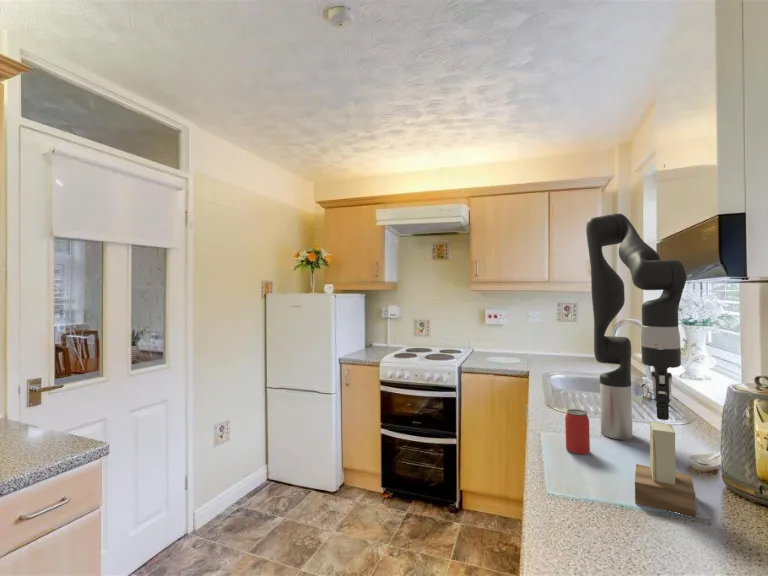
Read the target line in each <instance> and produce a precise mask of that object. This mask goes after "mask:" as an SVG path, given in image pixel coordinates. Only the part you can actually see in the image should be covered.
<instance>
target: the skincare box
mask: <svg viewBox="0 0 768 576" xmlns="http://www.w3.org/2000/svg"><path fill="white" fill-rule="evenodd" d="M649 432H650V433H649V442H650V444H649V445H650V446H649V449H650V450H649V451H650V452H649V453H650V454H649V456H650V457H649V458H650V459H649V463H650V464H649V467H650V471H651V475H652V479H653V481H656V482H661V483H666V484H671V485H675V472H676V431H675V429H674V427H673V425H672V424H671V423H665V422H664V423H663V422H656V421H649Z"/></svg>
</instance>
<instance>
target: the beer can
mask: <svg viewBox="0 0 768 576" xmlns="http://www.w3.org/2000/svg"><path fill="white" fill-rule="evenodd" d="M564 421H565V449H566V450H567V451H568V452H569V453H572V454H575V455H579V454H580V456H581V455H582V456H584V455H587V454H590V451H591V444H590V443H591V441H590V439H591V438H590V418H589V416H588V413H587V412H586V411H585V410H582V409H576V408H575V409H574V408H573V409H572V408H571V409H567V410H566V414H565V418H564Z"/></svg>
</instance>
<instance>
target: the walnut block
mask: <svg viewBox="0 0 768 576" xmlns="http://www.w3.org/2000/svg"><path fill="white" fill-rule="evenodd" d="M692 477H693V476H692V474H690V473H685V472H684V473H683V472H679V471H675V485H671V484H666V483H661V482H656V481H653V479H652V475H651V471H650V465H649V466H648V465H644V464H638V463H635V473H634V501H635V502H634V504H636V505H639V504H640V506H644V507H648V508H652V509H655V510H660V511H664V510H666V511H665V512H668V511H671V512H670V513H672V512H677V513H680V514H679V515H681V514H683V515H682V516H685V515H687V516H686V517H689V516H691V517H690V518H693V517H695V518H694V519H696V518H697V509H696V500H697V499H696V493H695V492H696V491H695V488H694V487H695V486H694V483H693V479H692Z"/></svg>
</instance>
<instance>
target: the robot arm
mask: <svg viewBox="0 0 768 576" xmlns="http://www.w3.org/2000/svg"><path fill="white" fill-rule="evenodd" d="M585 229H586V233H585V234H586V241H587V242H586V243H587V246H588V247H587V248H588V255H589V262H590V263H589V265H590V278H591V279H590V281H591V287H590V288H591V301H592V311H593V321H594V322H593V336H594V337H593V354H594V358H595V360H596V361H597V362H598V363H600V364H608V365H619V367H618V368H615V369H614V370H610V371H608V372H603V373H600V375H599V393H600V394H599V395H600V399H599V401H600V403H599V405H600V434H601V435H603V436H605V437H608V438H610V439H615V440H623V441H624V440H632V439H633V434H634V433H633V404H632V403H633V402H632V401H633V398H632V397H633V396H632V395H633V394H632V376H631V375H632V374H631V373H632V372H631V371H632V369H631V367H632V366H631V365H632V343H631V340H630V339H629V337H626V336H612V335H611V336H607V335H605V334H606V332H607V330H608V328H609V326H610V324H611V322H613V321H614V320H615V318H616V316H618V315H619V313H620V311H621V310H622V309H623V307H624V306H625V305H624V304H625V283H624V281H623V279H622V278H621V276H620V275H619V274H618V273H617V272H616V270H614V268H612V266H611V265H610V264H609V263H608V262H607V260H606V259H605V257H604V253H603V247H607V246H608V247H609V246H612V245H618V244H620V245H619V248H618V257H619V259H620V260H621V261H622V263H623V264H624V265H625V266H626V267H627V268H628V269H629V272H630V274H631V279H632V280H631V281H632V283H633V285H634V286H635V287H636V288H638V289H640V290H643V291H662V293H661V294H660V296H659V297H658V298H655V299H652V300H647V301H644V302H643V303H642V304H641V332H640V333H641V334H640V343H641V363H642V364H643V365H645V366H649V367H653V368H654V371H651V372H650V379H651V382H652V392H653V394H655V397H654V401H655V407H656V418H657V420H662V421H663V420H664V421H668V420H670V409H669V407H670V405H669V404H670V402H671V399H670V395H671V394H672V383H673V375H672V372H668V369H670V368H671V369H672V368H674V369H675V368H680V366H681V365H682V361H681V360H682V355H681V354H682V353H681V352H682V348H681V332H680V329H679V307H680V304H681V299H682V296H683V292H684V289H685V286H686V283H687V278H688V275H687V276H686V273H685V270H684V267H683V265H684V264H683V263H682V262H681V261H680V260H678V259H661V257H660V255H659V253H658V252H657V251H656V250H655V249H654V248H653V247H651V246H650V245H648V244H647V243H646V242H645V241H644V240H643V239H642V238H641V236H640V234H639V232H637V230H636V228H635V226H634V225H633V224H632V223H631V221H630V220H629V218H628V217H627V216H625V215H624V214H623V213H611V214H606V215H600V216H595V217H590V218H589V219H588V220H587V222H586V228H585ZM682 264H683V265H682Z"/></svg>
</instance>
